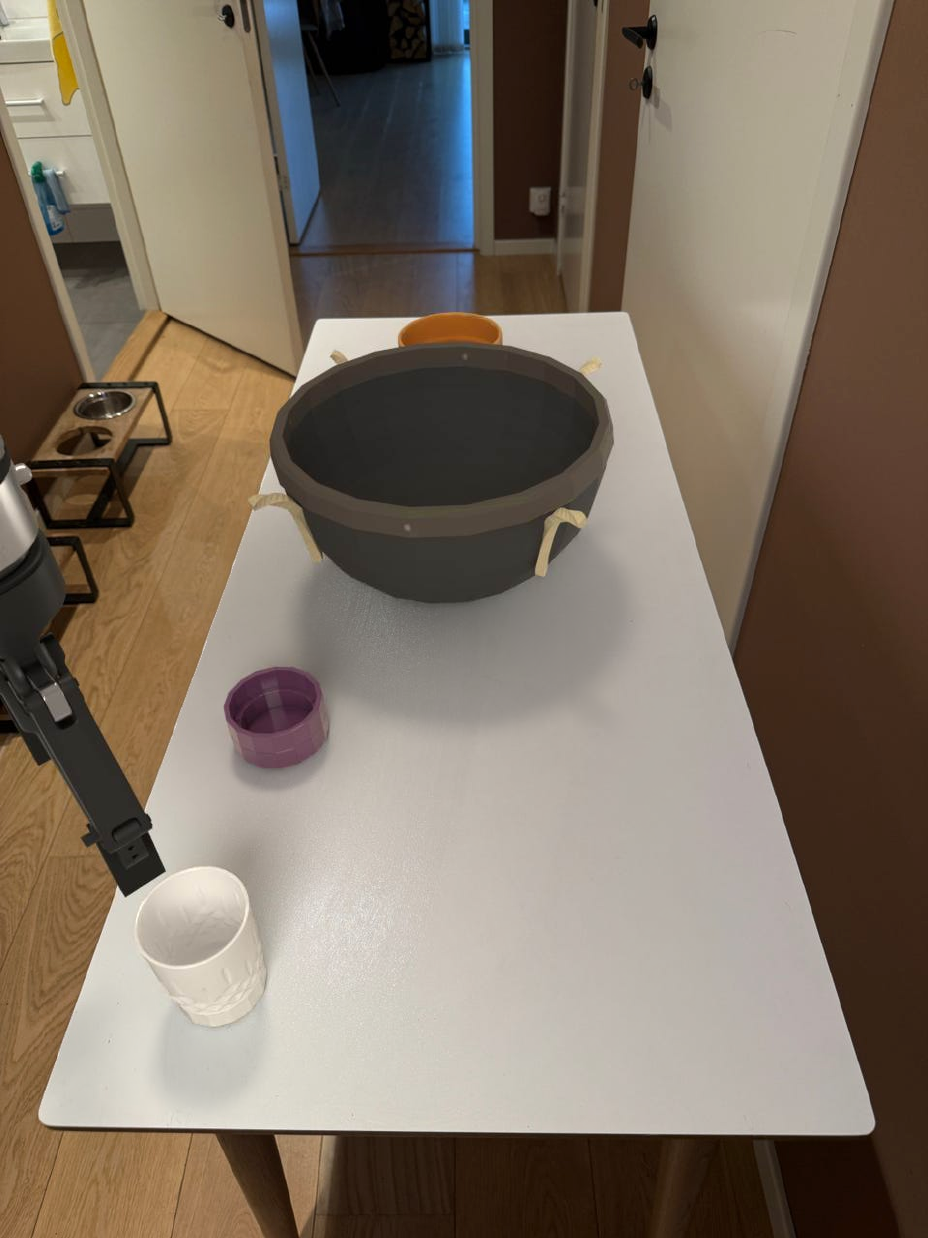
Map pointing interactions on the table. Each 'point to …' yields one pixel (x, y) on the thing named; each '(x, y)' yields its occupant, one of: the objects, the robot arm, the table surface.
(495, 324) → the flower pot
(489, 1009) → the table surface
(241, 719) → the plum dish
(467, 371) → the bowl
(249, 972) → the white cup
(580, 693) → the table surface
